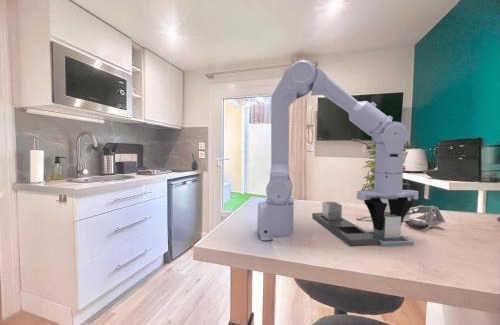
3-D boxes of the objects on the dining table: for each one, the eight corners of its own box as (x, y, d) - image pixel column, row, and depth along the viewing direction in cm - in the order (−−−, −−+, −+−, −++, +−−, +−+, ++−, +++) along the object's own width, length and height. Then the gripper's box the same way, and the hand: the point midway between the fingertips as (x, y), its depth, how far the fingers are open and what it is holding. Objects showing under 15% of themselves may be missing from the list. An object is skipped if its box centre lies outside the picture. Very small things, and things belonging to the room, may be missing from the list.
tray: (382, 250, 50) (382, 242, 50) (362, 238, 57) (362, 231, 57) (413, 249, 51) (413, 241, 50) (389, 236, 58) (389, 230, 58)
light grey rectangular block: (384, 242, 52) (385, 216, 51) (373, 236, 56) (373, 211, 55) (400, 241, 52) (401, 215, 52) (387, 235, 56) (388, 211, 56)
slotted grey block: (328, 225, 64) (328, 204, 63) (322, 221, 68) (322, 201, 67) (341, 225, 64) (341, 204, 64) (334, 221, 68) (335, 201, 68)
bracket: (445, 223, 63) (429, 191, 64) (372, 249, 68) (357, 219, 68) (438, 219, 66) (423, 189, 67) (369, 245, 71) (354, 217, 71)
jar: (395, 214, 79) (396, 181, 79) (415, 221, 71) (417, 184, 71) (373, 215, 78) (374, 181, 77) (391, 222, 70) (392, 185, 69)
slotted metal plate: (350, 250, 50) (350, 239, 50) (312, 220, 72) (312, 213, 71) (379, 249, 50) (379, 238, 50) (332, 220, 72) (333, 212, 72)
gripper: (370, 174, 48) (369, 235, 49) (431, 174, 50) (428, 233, 50) (352, 171, 55) (351, 225, 56) (405, 171, 57) (403, 223, 58)
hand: (386, 228), depth 54 cm, fingers closed on light grey rectangular block, 4 cm apart
